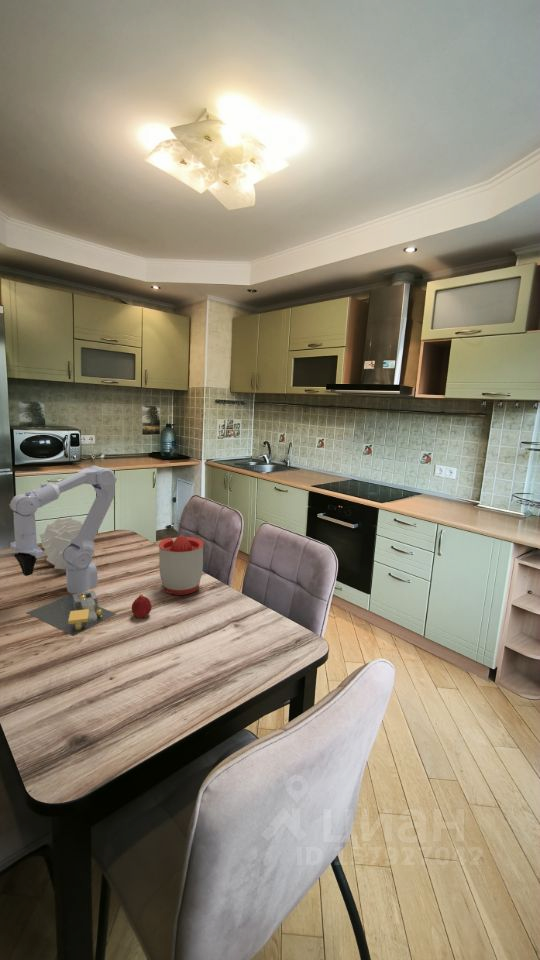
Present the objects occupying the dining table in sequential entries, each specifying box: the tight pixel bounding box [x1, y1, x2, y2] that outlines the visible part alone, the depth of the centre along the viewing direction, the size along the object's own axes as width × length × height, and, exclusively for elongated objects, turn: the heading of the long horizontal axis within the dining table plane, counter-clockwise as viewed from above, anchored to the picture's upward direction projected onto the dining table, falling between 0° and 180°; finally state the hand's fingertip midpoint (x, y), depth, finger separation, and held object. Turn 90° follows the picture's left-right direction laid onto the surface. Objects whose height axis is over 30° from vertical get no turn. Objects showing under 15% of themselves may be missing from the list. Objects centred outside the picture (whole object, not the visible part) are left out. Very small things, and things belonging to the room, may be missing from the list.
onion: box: [131, 593, 153, 619], centre depth 126 cm, size 6×6×8 cm
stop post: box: [96, 609, 102, 618], centre depth 125 cm, size 2×2×2 cm
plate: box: [26, 594, 117, 637], centre depth 127 cm, size 15×23×1 cm, turn 60°
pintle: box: [79, 594, 86, 599], centre depth 131 cm, size 2×2×4 cm
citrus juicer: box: [157, 534, 205, 596], centre depth 147 cm, size 16×17×20 cm
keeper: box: [68, 609, 89, 630], centre depth 120 cm, size 6×5×3 cm
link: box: [72, 590, 99, 624], centre depth 128 cm, size 15×6×4 cm, turn 32°
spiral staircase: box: [39, 516, 96, 570], centre depth 166 cm, size 18×18×25 cm
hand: (28, 574), depth 130 cm, fingers closed
